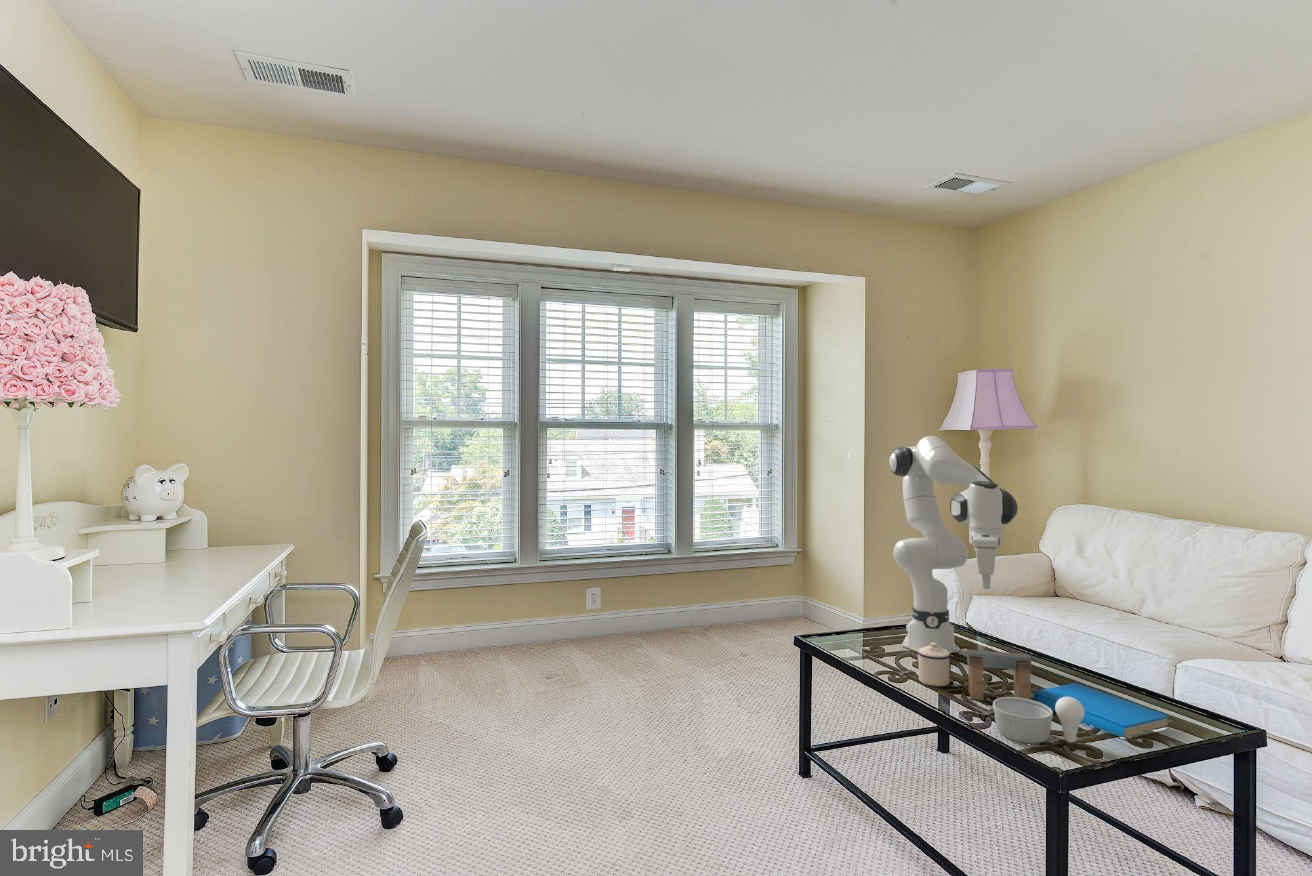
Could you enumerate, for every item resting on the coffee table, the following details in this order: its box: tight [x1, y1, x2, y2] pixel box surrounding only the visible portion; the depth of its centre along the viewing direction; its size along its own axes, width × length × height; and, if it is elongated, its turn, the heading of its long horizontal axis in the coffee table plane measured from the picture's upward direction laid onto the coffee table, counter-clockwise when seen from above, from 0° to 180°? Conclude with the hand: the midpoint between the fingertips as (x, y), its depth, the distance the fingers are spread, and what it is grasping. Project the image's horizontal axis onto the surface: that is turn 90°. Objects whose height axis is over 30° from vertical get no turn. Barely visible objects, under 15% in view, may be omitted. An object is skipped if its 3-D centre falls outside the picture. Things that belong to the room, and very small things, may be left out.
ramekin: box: [992, 696, 1054, 745], centre depth 168 cm, size 13×13×7 cm
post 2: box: [1013, 662, 1032, 700], centre depth 190 cm, size 6×3×11 cm, turn 163°
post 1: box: [967, 658, 984, 701], centre depth 193 cm, size 6×3×11 cm, turn 163°
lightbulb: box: [1055, 697, 1085, 744], centre depth 163 cm, size 6×6×11 cm
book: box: [1033, 682, 1169, 737], centre depth 179 cm, size 17×4×25 cm
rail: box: [966, 648, 1032, 671], centre depth 191 cm, size 4×16×4 cm, turn 73°
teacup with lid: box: [917, 643, 951, 687], centre depth 206 cm, size 12×9×12 cm
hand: (987, 585), depth 194 cm, fingers open, 8 cm apart
